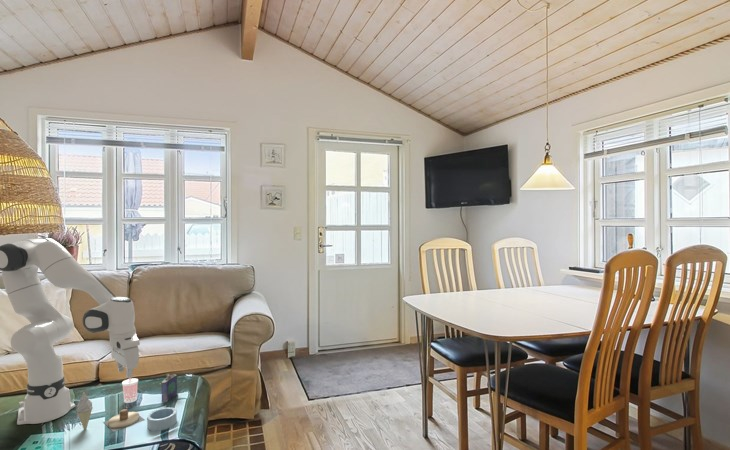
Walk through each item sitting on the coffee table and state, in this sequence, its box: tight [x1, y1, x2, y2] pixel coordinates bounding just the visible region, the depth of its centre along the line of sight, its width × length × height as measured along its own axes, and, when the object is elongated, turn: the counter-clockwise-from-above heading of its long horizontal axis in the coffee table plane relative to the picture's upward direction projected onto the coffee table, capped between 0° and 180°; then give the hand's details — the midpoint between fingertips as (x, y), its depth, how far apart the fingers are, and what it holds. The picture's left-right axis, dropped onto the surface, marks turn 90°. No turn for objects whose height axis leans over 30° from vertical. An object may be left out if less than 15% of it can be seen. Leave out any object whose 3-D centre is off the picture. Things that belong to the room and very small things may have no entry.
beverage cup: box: [121, 377, 139, 404], centre depth 174 cm, size 6×6×14 cm
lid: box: [107, 408, 140, 428], centre depth 156 cm, size 10×10×4 cm
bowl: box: [146, 407, 178, 432], centre depth 154 cm, size 10×10×4 cm
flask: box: [160, 373, 178, 403], centre depth 176 cm, size 9×3×11 cm, turn 172°
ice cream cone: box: [75, 391, 94, 431], centre depth 151 cm, size 5×5×15 cm
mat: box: [103, 410, 145, 433], centre depth 156 cm, size 11×11×1 cm
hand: (125, 374), depth 156 cm, fingers open, 8 cm apart
